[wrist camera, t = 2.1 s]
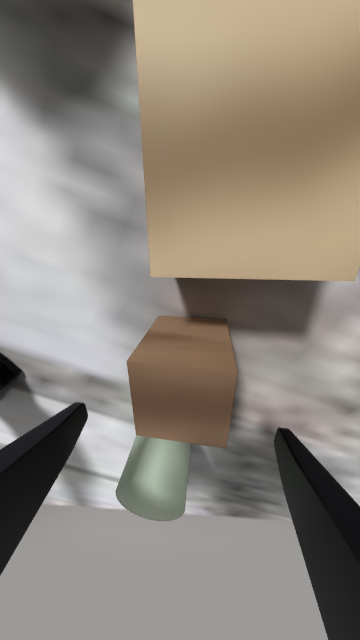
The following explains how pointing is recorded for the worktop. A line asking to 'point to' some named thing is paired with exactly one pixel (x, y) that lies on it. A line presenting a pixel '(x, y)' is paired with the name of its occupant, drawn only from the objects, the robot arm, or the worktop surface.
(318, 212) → the oak block
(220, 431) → the walnut cube
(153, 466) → the sage cylinder
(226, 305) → the worktop surface
